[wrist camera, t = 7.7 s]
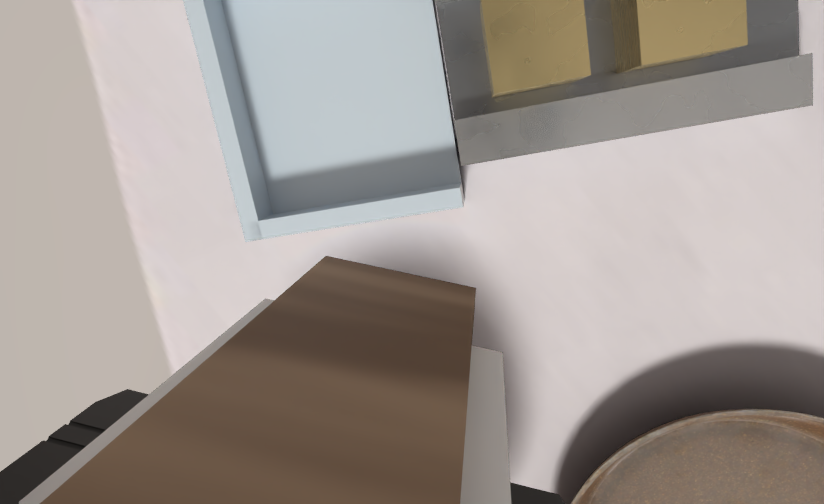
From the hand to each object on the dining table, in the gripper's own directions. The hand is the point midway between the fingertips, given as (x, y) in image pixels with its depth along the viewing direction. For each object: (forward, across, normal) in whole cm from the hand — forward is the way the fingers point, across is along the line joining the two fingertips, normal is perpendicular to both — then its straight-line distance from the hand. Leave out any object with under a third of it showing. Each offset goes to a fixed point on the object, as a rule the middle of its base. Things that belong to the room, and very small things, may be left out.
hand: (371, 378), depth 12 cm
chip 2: (+17, +8, +12) cm, 22 cm away
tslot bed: (+18, +6, +11) cm, 22 cm away
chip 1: (+17, +2, +10) cm, 20 cm away
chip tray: (+18, -7, +6) cm, 20 cm away
